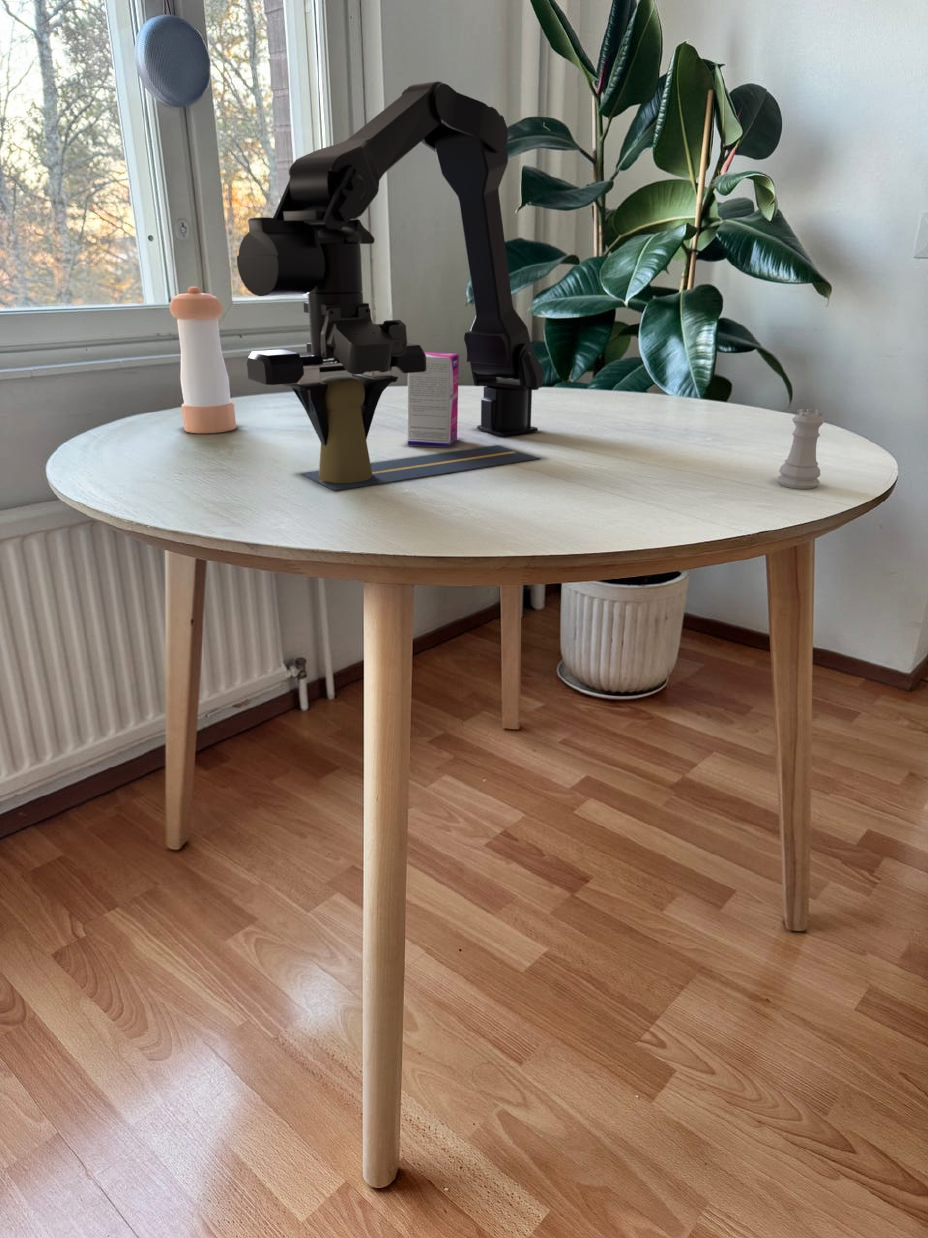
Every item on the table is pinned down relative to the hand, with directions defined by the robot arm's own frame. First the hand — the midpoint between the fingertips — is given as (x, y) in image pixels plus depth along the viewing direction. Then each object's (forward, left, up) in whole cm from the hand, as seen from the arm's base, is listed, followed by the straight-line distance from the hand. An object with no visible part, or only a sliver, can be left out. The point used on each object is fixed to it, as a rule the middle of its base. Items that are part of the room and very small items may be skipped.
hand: (344, 442), depth 93 cm
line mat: (-10, 0, -4) cm, 11 cm away
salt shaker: (+4, -37, -4) cm, 37 cm away
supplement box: (-18, -11, -4) cm, 22 cm away
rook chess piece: (-40, +30, -4) cm, 51 cm away
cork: (0, 0, -4) cm, 4 cm away
